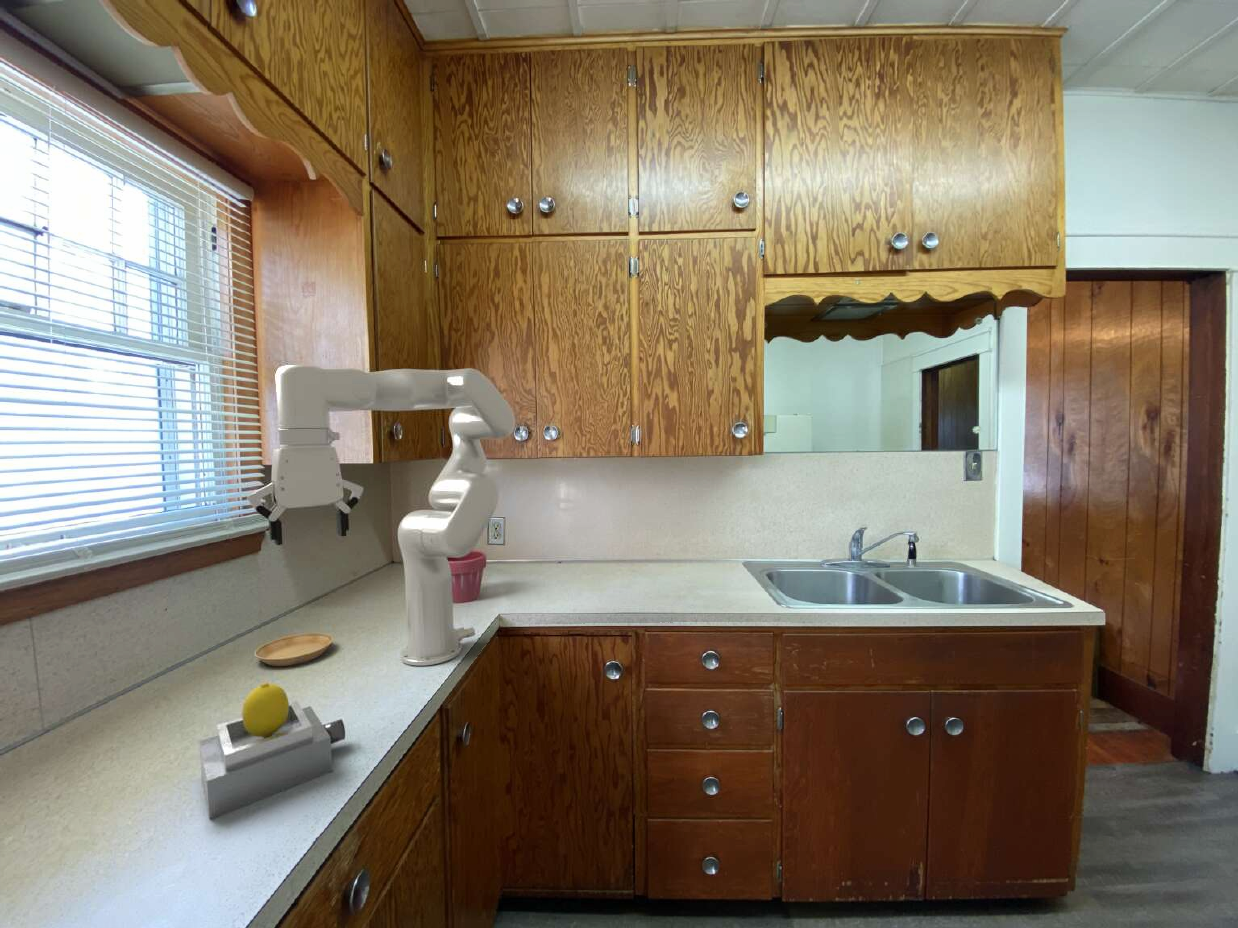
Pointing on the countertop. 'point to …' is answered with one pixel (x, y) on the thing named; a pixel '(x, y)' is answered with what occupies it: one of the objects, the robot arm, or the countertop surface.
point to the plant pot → (467, 576)
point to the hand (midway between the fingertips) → (311, 539)
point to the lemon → (265, 710)
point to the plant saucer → (294, 649)
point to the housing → (265, 759)
